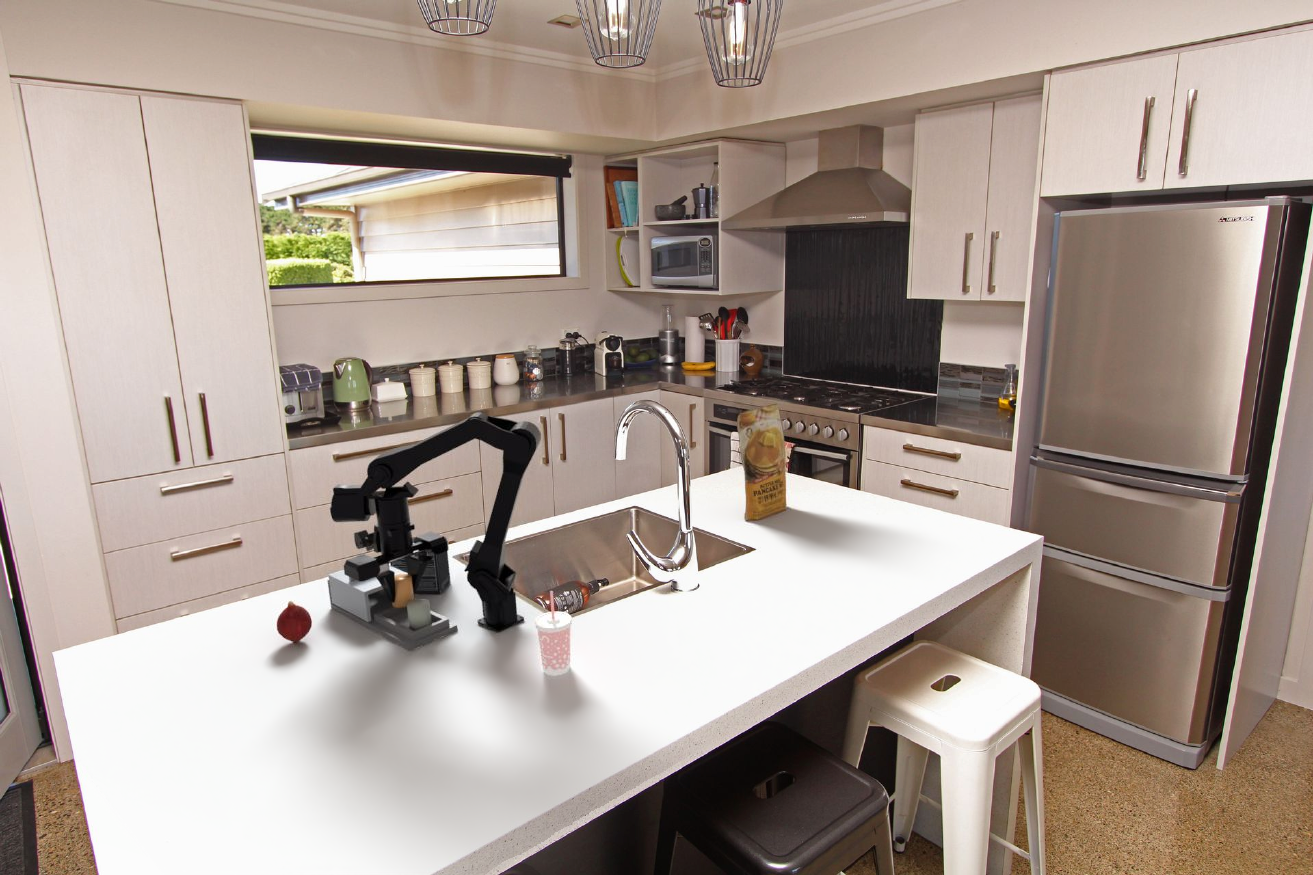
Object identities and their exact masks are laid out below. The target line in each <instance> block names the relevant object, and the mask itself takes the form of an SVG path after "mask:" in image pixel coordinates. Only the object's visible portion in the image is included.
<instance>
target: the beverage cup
mask: <svg viewBox="0 0 1313 875" xmlns="http://www.w3.org/2000/svg"><path fill="white" fill-rule="evenodd" d="M549 595H550V609H551V611H547V612H545V613H541V614H540V615H538V616H537V617H536V618H535V619H534V624H535V629H537V636H538V643H539V650H540V657H541V666H542V671H543V673H544V674H545V675H547V676H561V675H564V674H566V673H567V672H569V671H570V669H571V625H572V624H573V622H572V620H573V618H572V615H570V614H569V613H568V612H564V611H555V604H554V603H555V602H554V601H555V600H554V591H553V590H550V591H549Z"/></svg>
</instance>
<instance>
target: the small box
mask: <svg viewBox="0 0 1313 875" xmlns="http://www.w3.org/2000/svg"><path fill="white" fill-rule="evenodd" d="M415 537H416V536H415ZM415 537H414V536H412V542H413V543H414V539H415ZM444 537H445V538H446V539H447V537H446V536H444ZM448 553H449V552H448V551H446V552H443V553H440V554H437V555H436V554H434V553H432V552H431V549H429V550H428V556H431V557H432V561H430V562H429V563H428V565H427V567H426V569H425V571H424V573H423V575H422V578H421V580H420V583H419V585H418V588H417V590H416V593H415V594H417V595H420V594H423V595H426V594H427V595H429V594H430V595H440V594H442V593H443V592H444V591H445V589H446V588H447V587H448V586H449V585H450V584H451V583H452V582H451V573H450V565H449V562H450V561H449V554H448ZM389 566H392V567H394V568H396V569H399V570H401V571H403V572H406V573H408V570H407V564H406V562H405V560H404V558H403V559H400V560H397V561H395V562H392V563H389ZM415 594H414V595H415Z"/></svg>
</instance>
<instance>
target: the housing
mask: <svg viewBox="0 0 1313 875" xmlns="http://www.w3.org/2000/svg"><path fill="white" fill-rule="evenodd" d="M327 587H328V588H327V589H328V594H329V595H328V596H329V600H330V603H329V604H330V608H331V609H333V610H335V612H338V613H339V614H340V615H341V614H342V615H343V616H346V617H347V618H348V619H351V620H353V621H354V622H356V623H358V624H360V625H362V626H363V627H365V628H368V629H369V630H371V631H373V632H375V633H377V634H379V635H380V636H382V637H384V638H386V639H388V640H390V641H392V642H393V643H395V644H398V645H399V646H401V647H403V648H404V649H406V650H408V651H410V652H412V651H414V650H417V649H418V648H421V647H423V646H424V645H427V644H429V643H432V642H434V641H437V640H438V639H440V638H443V637H444V636H447V635H450V634H451V633H454V632H456V631H458V629H459V628H458V624H456V623H454V622H452V621H450V619H449V618H448V617H446V616H444V615H442V614H439V613H438V612H435V611H433V610H431V603H430V600H428V599H427V598H426V599H425V598H416V599H414V600H413V601H411V602H409V603H408V604H407V607H401V608H398V607H394V606H393V605H392V602H390V600H389V598H388V597H387V595H386V593H385V592H383V591H381V590H379V591H377V592H374V593H372V594H369V595H368V598H369V606H370V614H371V621H369V622H367V621H365V620H363V619H361V618H359V617H358V616H356V615H354V614H352V613H350V612H348V611H346V610H344V609H342V608H341V607H339V606H337V605H335V604H333V603H332V598H331V591H330V583H329V579H327Z"/></svg>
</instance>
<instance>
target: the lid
mask: <svg viewBox="0 0 1313 875" xmlns="http://www.w3.org/2000/svg"><path fill="white" fill-rule="evenodd" d="M389 570H391V571H393V572H395V575H399V574H408V573H406V572H403V571H401V570H399V569H396V568H394V567H392V566H390V565H389ZM327 575H328V576H327V577H328V580H329V583H330V591H331V598H332V603H333V604H335V605H337V606H339V607H341V608H342V609H344V610H346V611H348V612H350V613H352V614H354V615H356V616H358V617H359V618H361V619H363V620H365V621H367V622H369V621H371V614H370V606H369V598H368V595H369V594H372V593H374V592H377V591H379V590H381V591H383V592H385V591H384V589H383V588H382V586H381V584H380V582H379V581H378V580H377V578H376V577H374V578H371V579H369V580H366V581H357V580H355V579H353V578H351V577H349V576H347V575H345V573H344V569H340V570H339V571H336V572H335V571H334V572H331V573H330V574H327Z"/></svg>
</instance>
